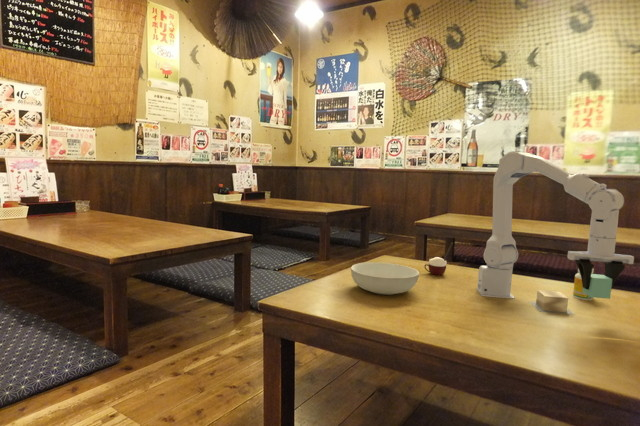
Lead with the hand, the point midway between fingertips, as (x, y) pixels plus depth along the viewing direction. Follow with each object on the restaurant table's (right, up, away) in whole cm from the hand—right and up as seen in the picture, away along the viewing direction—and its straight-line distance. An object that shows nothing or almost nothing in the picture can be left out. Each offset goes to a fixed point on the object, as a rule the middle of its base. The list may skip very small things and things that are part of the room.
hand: (596, 289), depth 107 cm
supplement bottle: (+11, -7, +22) cm, 26 cm away
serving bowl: (-51, -5, +23) cm, 56 cm away
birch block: (-6, -7, +11) cm, 14 cm away
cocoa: (-28, -3, +46) cm, 54 cm away
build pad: (-6, -8, +11) cm, 14 cm away
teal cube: (0, -2, 0) cm, 2 cm away
